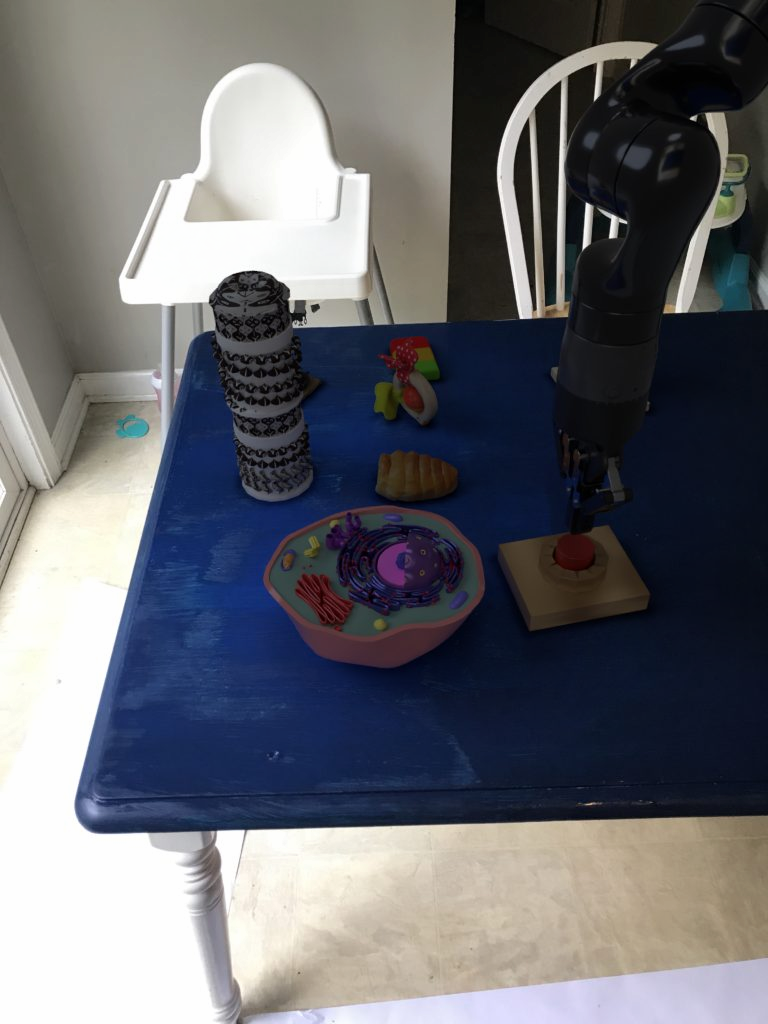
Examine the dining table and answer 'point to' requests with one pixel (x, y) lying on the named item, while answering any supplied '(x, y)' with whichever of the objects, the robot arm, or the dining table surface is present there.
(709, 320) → the dining table surface
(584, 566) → the button
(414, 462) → the pastry
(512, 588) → the button block
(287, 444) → the decorative candle
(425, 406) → the bird rattle
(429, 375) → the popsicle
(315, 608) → the cell model
